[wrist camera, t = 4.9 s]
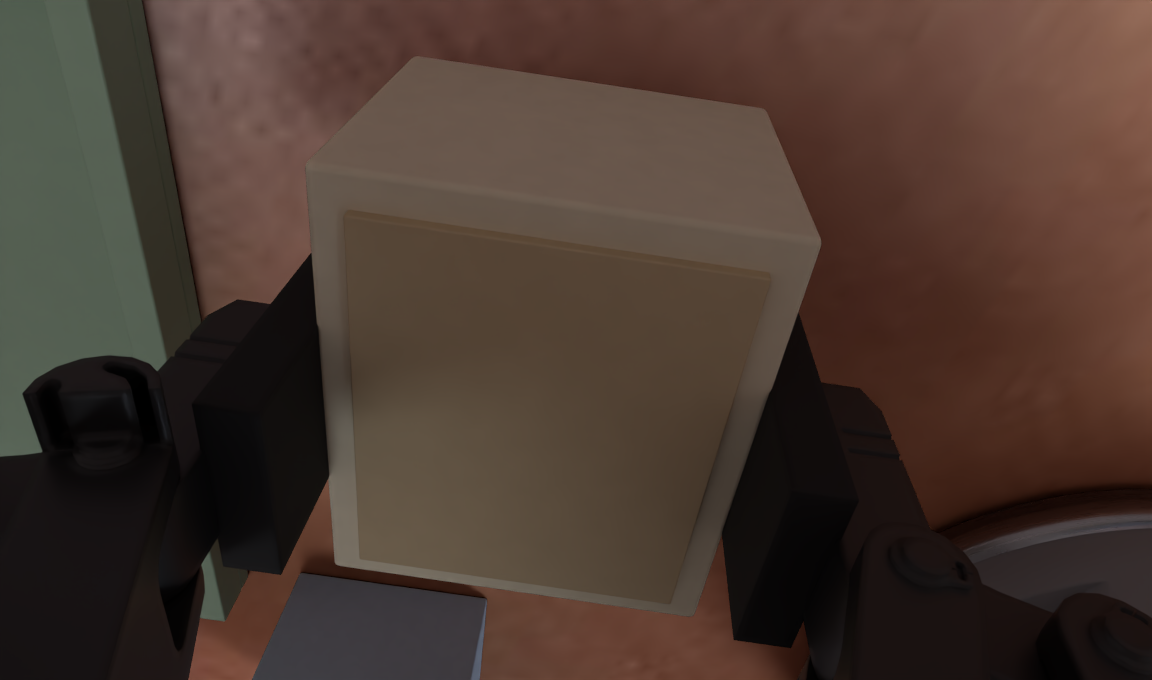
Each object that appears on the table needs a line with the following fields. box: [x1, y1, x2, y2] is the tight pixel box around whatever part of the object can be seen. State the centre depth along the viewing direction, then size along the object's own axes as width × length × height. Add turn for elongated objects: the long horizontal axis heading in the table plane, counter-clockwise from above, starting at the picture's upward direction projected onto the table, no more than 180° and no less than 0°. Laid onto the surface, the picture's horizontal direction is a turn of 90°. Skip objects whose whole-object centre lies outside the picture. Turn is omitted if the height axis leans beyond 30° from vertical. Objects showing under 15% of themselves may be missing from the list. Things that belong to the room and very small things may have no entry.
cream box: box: [305, 56, 821, 617], centre depth 13 cm, size 6×7×5 cm
